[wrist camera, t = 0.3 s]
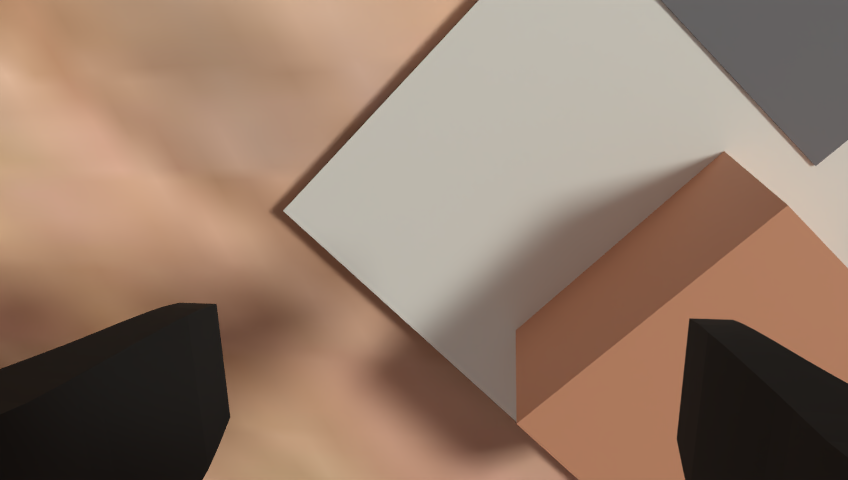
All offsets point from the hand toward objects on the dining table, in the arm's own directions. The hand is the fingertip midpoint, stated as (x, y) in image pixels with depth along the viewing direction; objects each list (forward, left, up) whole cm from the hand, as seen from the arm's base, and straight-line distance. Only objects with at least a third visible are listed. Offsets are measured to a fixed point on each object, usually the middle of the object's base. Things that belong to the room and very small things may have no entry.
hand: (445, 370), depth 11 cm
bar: (-5, -2, -9) cm, 10 cm away
